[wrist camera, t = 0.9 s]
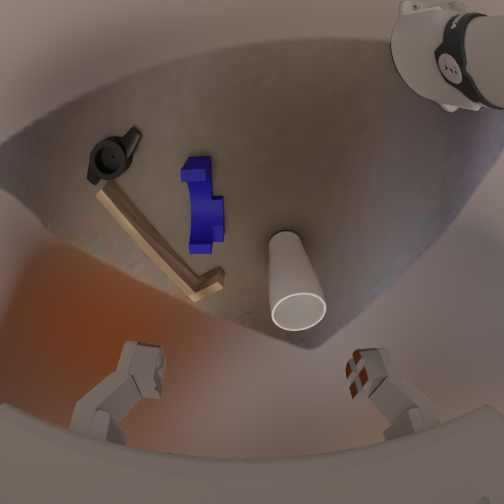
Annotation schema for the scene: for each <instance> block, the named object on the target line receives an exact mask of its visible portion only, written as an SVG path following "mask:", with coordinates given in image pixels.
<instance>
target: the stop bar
mask: <svg viewBox="0 0 504 504" xmlns="http://www.w3.org/2000/svg"><path fill="white" fill-rule="evenodd" d="M95 196H96V197H97V198H98V199H99V201H100V202H101V203H102V204H103V205H104V207H105V208H106V209H107V210H108V211H109V212H110V214H111V215H112V216H113V217H114V218H115V219H116V220H117V222H118V223H119V224H120V225H121V226H122V227H123V228H124V229H125V231H126V232H127V233H128V234H129V235H130V236H131V237H132V238H133V239H134V241H135V242H136V243H137V244H138V245H139V246H140V247H141V248H142V249H143V250H144V251H145V252H146V254H147V255H148V256H149V257H150V258H151V259H152V260H153V261H154V262H155V263H156V264H157V265H158V266H159V267H160V268H161V269H162V270H163V271H164V272H165V273H166V274H167V276H168V277H169V278H170V279H171V280H172V281H173V282H174V283H175V284H176V285H177V286H178V287H179V288H180V289H181V290H182V291H183V292H184V293H185V294H186V295H187V296H188V297H189V298H191V299H192V300H193V301H194V302H196V301H198V300H200V299H202V298H204V297H206V296H208V295H210V294H212V293H214V292H216V291H218V290H220V289H222V288H223V285H224V273H225V272H224V271H223V270H222V269H221V268H220V266H219V267H217V268H215V269H213V270H211V271H210V272H208V273H206V274H204V275H202V276H200V277H198V276H197V275H196V274H195V273H194V272H193V271H192V270H191V269H190V268H189V267H188V266H187V265H186V264H185V262H184V261H183V260H182V259H181V258H180V257H179V256H178V255H177V254H176V253H175V251H174V250H173V249H172V248H171V247H170V246H169V245H168V244H167V243H166V241H165V240H164V239H163V238H162V237H161V236H160V235H159V234H158V232H157V231H156V230H155V229H154V228H153V227H152V226H151V224H150V223H149V222H148V221H147V220H146V219H145V217H144V216H143V215H142V214H141V213H140V212H139V210H138V209H137V208H136V207H135V206H134V205H133V203H132V202H131V201H130V200H129V199H128V197H127V196H126V195H125V194H124V193H123V191H122V190H121V189H120V188H119V186H118V185H117V184H116V183H115V182H114V180H111V181H110V182H109V183H108V184H107V185H106V186H105V187H104V188H102V189H101V190H100V191H99V192H98V193H97V194H96V195H95Z"/></svg>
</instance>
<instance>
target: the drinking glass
mask: <svg viewBox="0 0 504 504" xmlns="http://www.w3.org/2000/svg"><path fill="white" fill-rule="evenodd" d="M268 250H269V303H270V310H271V316H272V319H273V321H274V323H275V324H276V325H277V326H279V327H281V328H283V329H286V330H292V331H297V330H303V329H307V328H310V327H312V326H314V325H315V324H317V323H318V322H319V321H320V320H321V319H322V318H323V317H324V315H325V312H326V303H325V299H324V295H323V291H322V288H321V285H320V282H319V280H318V277H317V275H316V273H315V271H314V269H313V266H312V264H311V262H310V260H309V258H308V256H307V254H306V252H305V249H304V247H303V244H302V241H301V239H300V238H299V236H298V235H296V234H295V233H293V232H289V231H283V232H279V233H277V234H275V235H274V236H273V237H272V238H271V240H270V242H269V245H268Z"/></svg>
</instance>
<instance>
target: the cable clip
mask: <svg viewBox="0 0 504 504" xmlns="http://www.w3.org/2000/svg"><path fill="white" fill-rule="evenodd" d="M181 181H182V182H187V184H188V187H189V191H190V198H191V234H190V241H189V251H190V254H211V253H212V246H213V242H224V233H225V230H224V207H223V196H213V192H212V172H211V156H202V157H189V158H188V160H187V161H186V163H185V164H184V166H183V167H182V169H181Z"/></svg>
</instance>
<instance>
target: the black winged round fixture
mask: <svg viewBox="0 0 504 504" xmlns="http://www.w3.org/2000/svg"><path fill="white" fill-rule="evenodd" d="M139 138H140V135H139V134H138V132H137V131H136V130H135V129H134V128H133V127H132V128H131V129H130V130H129V131H128V132H127V133H126V134H125V135H124V136H123V137H122V138H120V137H116V136H114V137H109V138H107V139H105V140H103V141H101V142H99V143H98V144H96V145H95V146H94V148H93V149H92V151H91V154H90V163H89V167H88V173H87V179H88V181H89V182H91V183H92V184H94V185H96V184H97V183H98V181H99V180H100V179H104V180H114V179H116V178H118V177H119V176H120V175H121V174H122V173H123V172H125V171H126V170H127V169H128V168H129V166H130V165H131V162H132V152H133V151H134V149H135V147H136V144H137V142H138V140H139ZM113 155H114V156H113Z"/></svg>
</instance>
